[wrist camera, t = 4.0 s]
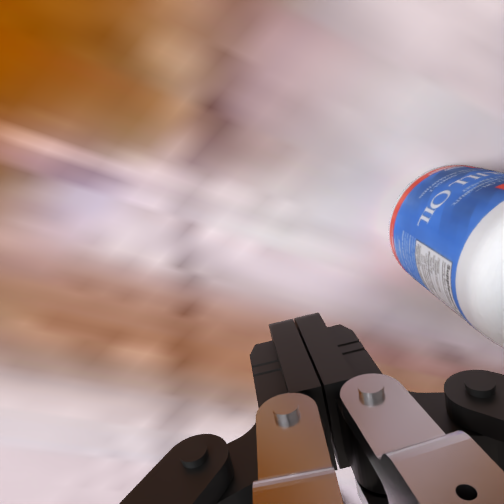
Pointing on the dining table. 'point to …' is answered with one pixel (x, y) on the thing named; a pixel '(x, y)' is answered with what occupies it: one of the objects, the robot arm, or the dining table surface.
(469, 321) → the pill bottle
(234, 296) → the dining table surface
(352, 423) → the robot arm
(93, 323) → the dining table surface
